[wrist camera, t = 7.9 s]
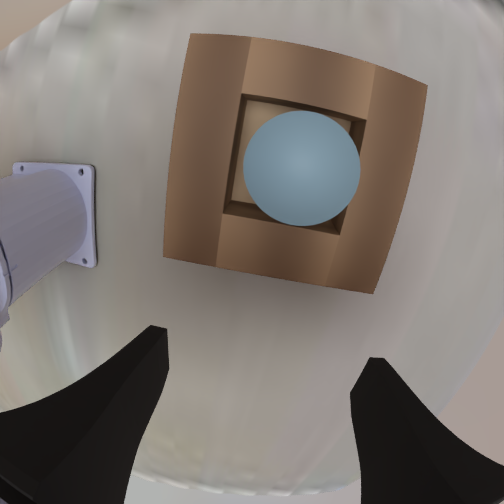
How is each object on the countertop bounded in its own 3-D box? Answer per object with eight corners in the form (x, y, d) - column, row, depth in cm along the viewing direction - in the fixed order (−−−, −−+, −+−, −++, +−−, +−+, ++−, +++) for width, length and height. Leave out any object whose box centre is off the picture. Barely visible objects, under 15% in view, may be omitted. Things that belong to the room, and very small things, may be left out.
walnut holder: (182, 233, 19) (163, 256, 16) (207, 51, 14) (190, 33, 11) (357, 265, 19) (372, 294, 15) (399, 92, 14) (427, 85, 11)
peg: (254, 185, 17) (240, 220, 10) (258, 117, 15) (246, 106, 9) (322, 191, 16) (351, 231, 10) (329, 124, 15) (366, 120, 8)
